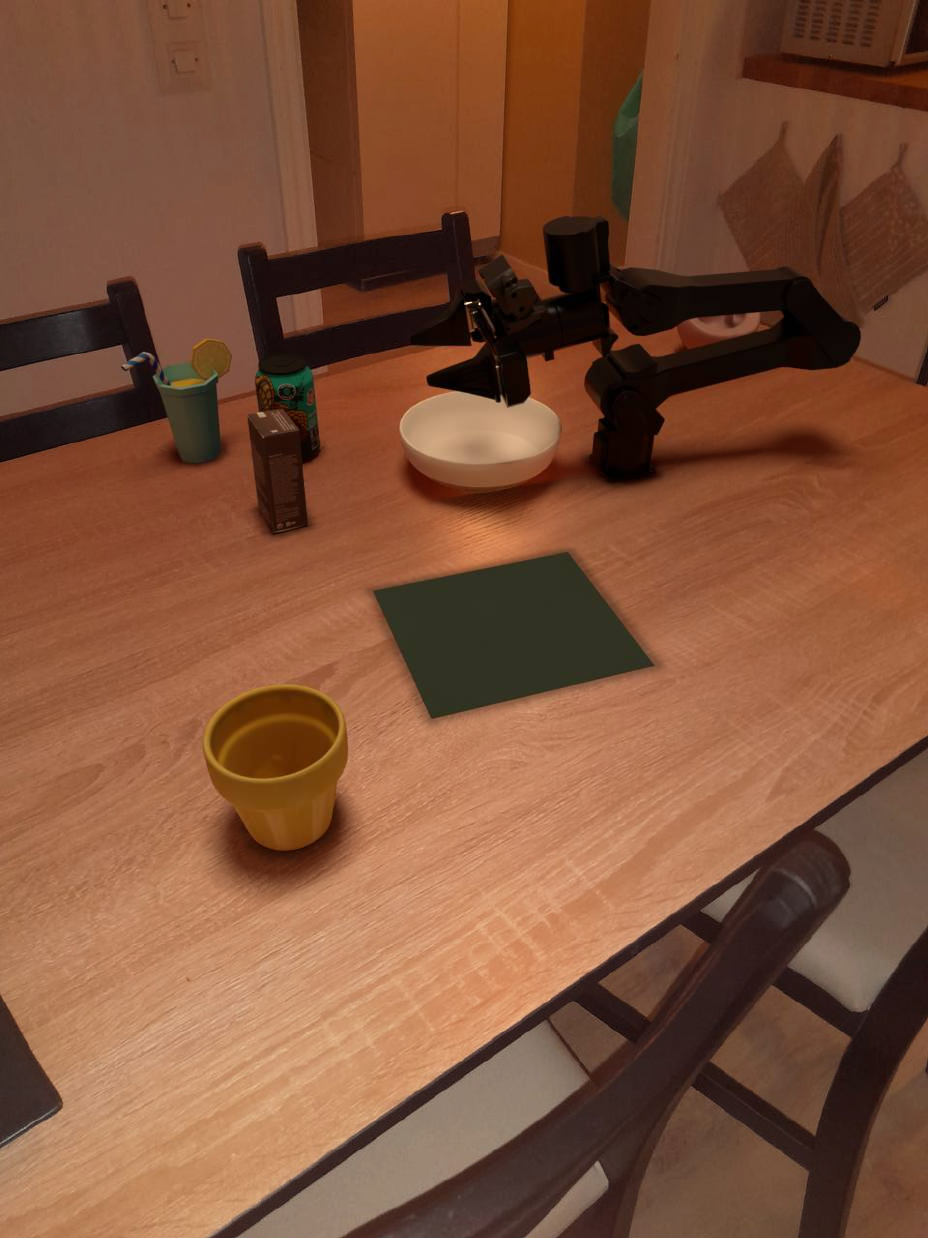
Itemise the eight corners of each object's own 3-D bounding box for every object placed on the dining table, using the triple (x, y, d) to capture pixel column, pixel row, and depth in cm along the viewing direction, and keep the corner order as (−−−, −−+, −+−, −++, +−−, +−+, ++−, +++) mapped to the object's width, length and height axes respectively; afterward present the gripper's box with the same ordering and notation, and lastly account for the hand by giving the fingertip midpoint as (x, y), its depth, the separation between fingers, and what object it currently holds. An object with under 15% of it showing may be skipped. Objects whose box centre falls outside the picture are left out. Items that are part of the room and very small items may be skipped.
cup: (166, 487, 116) (140, 369, 107) (129, 466, 120) (101, 351, 111) (257, 445, 124) (240, 332, 115) (219, 427, 128) (200, 316, 119)
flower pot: (229, 773, 80) (210, 685, 74) (355, 765, 81) (346, 677, 75) (215, 876, 72) (192, 787, 66) (354, 866, 73) (344, 777, 67)
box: (311, 525, 110) (300, 428, 102) (272, 534, 108) (259, 437, 101) (294, 500, 114) (283, 406, 107) (257, 508, 112) (243, 414, 105)
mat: (567, 552, 106) (567, 551, 106) (654, 666, 91) (654, 665, 91) (373, 591, 100) (372, 590, 100) (431, 719, 85) (431, 718, 85)
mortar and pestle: (689, 376, 141) (701, 298, 134) (659, 344, 151) (669, 270, 143) (765, 369, 143) (781, 292, 136) (731, 338, 152) (745, 265, 145)
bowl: (444, 527, 109) (444, 480, 106) (376, 453, 123) (373, 408, 119) (589, 487, 116) (593, 441, 113) (509, 420, 130) (511, 377, 126)
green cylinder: (254, 459, 122) (241, 369, 114) (282, 434, 127) (271, 347, 119) (303, 469, 120) (293, 378, 112) (330, 444, 125) (322, 356, 117)
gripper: (522, 219, 108) (387, 255, 107) (575, 292, 95) (422, 333, 94) (532, 311, 116) (407, 344, 115) (583, 390, 102) (441, 428, 101)
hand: (418, 360), depth 106 cm, fingers open, 9 cm apart
